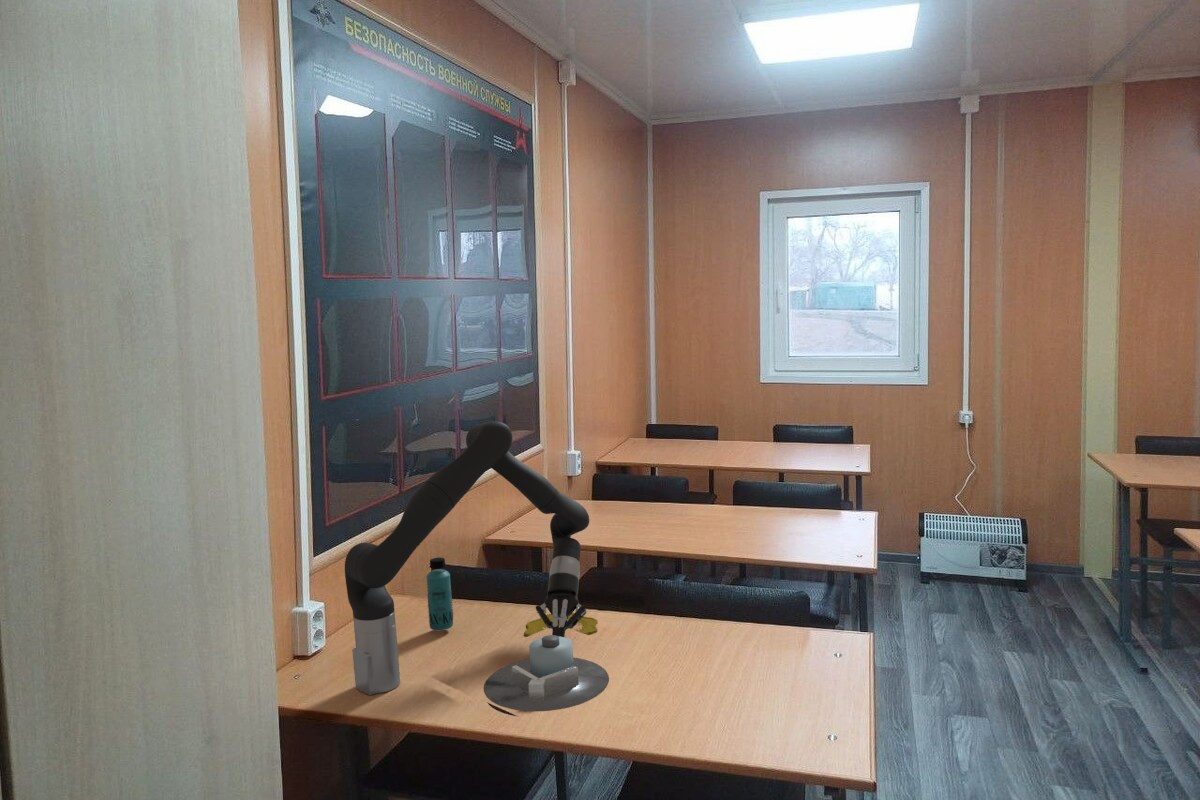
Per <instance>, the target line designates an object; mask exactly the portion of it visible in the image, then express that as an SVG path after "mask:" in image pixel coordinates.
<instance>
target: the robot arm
mask: <svg viewBox="0 0 1200 800" xmlns="http://www.w3.org/2000/svg"><path fill="white" fill-rule="evenodd" d="M512 443H513V432H512V430H511V427H509V426H508V425H507V424H506V423H504V422H501V421H494V420H493V421H487V422H482V423H479V424H476V425H474V426H472V427H471V428H470V429H469V430H468V432H467V434H466V437H465V444H466V449H465V450H464V451H463V452H462V453H461V454H460V455H458V456H457V457H456V458H455V459H454V460H452V461H450V462H448V464H446V465H444V466H443V467H442V468H440V469H439V470H438V471H436V472H435V473H433V474H432V475H431V476H430V477H429V478H428V479H426V481H424V482H423V483H422V484H421V485H420V487H419V488H417V489H416V491H415V492H414V493H413V494H412V495H411V496H410V498H409V499H408V501H407V503H406V506H405V509H404V511H403V514H402V516H401V519H400V521H399V523H398V524H397V526H396V527H395V529H394V530H393V531H392V532H391V533H390V534H389V535H388V536H387V537H386V538H385V539H384V540H383V541H382V542H381V543H379V544H378V545H376V544H375V543H370V542H361V543H357V544H355V545H354V546H353V547H352V548H350V550H349V551H348V552H347V554H346V557H345V559H344V560H345V561H344V577H345V586H346V593H347V601H348V603H349V606H350V607H351V611H352V617H353V618H352V619H353V629H354V640H355V647H353V648H352V650H351V651H352V661H353V672H354V682H355V683H354V685H355V690H356V689H357V690H358V691H360V692H362V693H364V694H366V695H368V696H372V695H374V694H382V693H386V692H389V691H392V690H394V689H396V688H397V687H399V685H400V684H401V676H400V675H401V672H400V661H399V650H398V649H399V648H398V637H397V624H396V623H397V621H396V613H395V612H396V611H395V601H394V599H393V597H392V596H391V595H390V594H389V592H388V590H387V588H386V586H387V585H388V584H389V583H390V582H391V581H392V580H393V579H394V578H395V577H396V575H397V574H398V573H399V572H400V570H401V569H402V568H403V566H404V565H405V564H406V562H407V561H408V560H409V558H410V557H411V556H412V554H413V553H414V552H415V551H416V549H417V548H418V547H419V546H420V544H422V542H424V540H425V539H426V538H427V537H428V536H429V535H430V533H431V532H432V531H433V530H434V529H435V528H436V527H437V526H438V525H439V524H440V523H441V522H442V521H443V520H444V519H445V518H446V516H448V514H449V513H450V512H451V511H453V509H454V508H455V507H456V506H457V504H458V503H459V502H460V500H462V498H463V497H464V496H465V495H466V494H467V493H468V492H469V491H470V490H471V489H472V487H473V486H474V485H475V484H476V483H477V481H478V480H479V479H480V478H481V477H482V476H483V475H485V473H486V472H487V471H488V470H489V469H492V470H494V471H495V473H497V474H498V475H500V476H502V478H504V480H506V481H507V482H509V483H510V484H511V485H512V486H513V487H514V488H515V489H516V490H518V491H519V492H520V493H521V494H522V495H523V496H524V497H525V498H526V499H527V500H528V501H529V502H530V503H531V504H532V505H533V506H534V507H535V508H537V510H538V511H539V512H540V513H542V514H545V515H550V514H551V515H552V514H553V516H552V518H551V520H550V525H549V529H550V534H551V540H552V544H553V550H552V557H551V565H550V569H549V578H548V584H547V585H548V587H547V594H546V597H545V599H544V603H542V604H541V605H536V606H535V611H536V613H537V614H538V616H539V617H540V618H541V619H542V620H543V621H544V623H545V624H546V626H547V627H548V628H547V627H546V628H547V629H552V633H551V635H556V636H559V637H565V635H566V631H567V630H568V629H570V630H572V629H574V627H575V626H577V625H578V624H579V621H580V619H581V618H582V617H583V616H584V617H585V615H586V614H587V609H586V606H584V605H581V604H580V601H579V599H578V597H579V596H578V595H579V584H580V583H579V582H580V580H581V579H580V577H581V575H580V574H581V573H580V568H581V567H580V561H581V549H582V548H581V543H580V542H579V541H578V540H577V539H576V538H573V537H572V536H573V535H575V534H578V533H580V532H582V531H584V530H586V529H587V528H588V526H589V524H590V516H589V513H588V511H587V509H586V508H585V507H584V506H583V505H581V503H579V502H578V501H576V500H574V499H572V498H571V497H569V496H568V495H566V494H563V493H561V492H560V491H559V490H558V489H557V488H556V487H555V486H554V485H553V484H552V483H551V482H550V481H549V480H548V479H547V478H546V477H545V476H543V475H542V474H541V473H540V472H539V471H537V470H535V469H533V468H532V467H530V466H528V465H527V464H526V463H524V462H522V461H521V460H519V459H518V458H517V457H515V455H514V454H512V453H511V452H510V448H511V447H512ZM547 610H548V611H549V614H551V615H552V616H553V622H552V621H550V620H549V618H548V617H547ZM572 613H574V614H573V616H572V617H571V618H570V619H569V620H568V618H569V616H570V615H571V614H572ZM560 617H561V619H560ZM559 624H560V626H559ZM565 638H566V637H565Z"/></svg>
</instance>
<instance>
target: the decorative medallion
mask: <svg viewBox="0 0 1200 800" xmlns="http://www.w3.org/2000/svg"><path fill="white" fill-rule="evenodd" d="M574 613H575V612H573V613H572V614H571V615H570V616H569V618H568V620H569V619H570V618H571V617H572V616H573V614H574ZM546 615H547V617H548V618H549V620H550V621H552V622H553V616H552V615H551V613H546ZM560 619H561V617H560ZM597 625H598V619H597V618H594V617H591V616H585V615H584V616H583V617H582V618H581V619H580V621H579V622H578V623H577V627H578V628H575V629H574V631H576V632H578V633H581V634H584V635H587V636H590V635H593V634H596V633H598V628H597ZM580 626H581V627H580ZM525 627H526V630H524V633H523V636H524V637H526V638H527V637H530V636H532V635H535V634H538V633H541V632H542V631H545V630H547V629H549V628H548V627H547V626H546V624H545V623H544V621H543V620H542V619H541V617H540V618H537V619H534V620H530V621H528V622H527V623H526V626H525ZM559 627H560V623H559Z"/></svg>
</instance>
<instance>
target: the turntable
mask: <svg viewBox="0 0 1200 800" xmlns="http://www.w3.org/2000/svg"><path fill="white" fill-rule="evenodd" d="M573 661H574V666H573V667H570V668H567V669H564V670H561V671H558V672H556V673H553V674H550V675H547V676H544V677H541V678H538V677H536V676H534V675H532V674H531V669H530V658H528V659H523V660H520V661H517V662H513V663H511V664H508V665H506V666H504V667H502V668H499V669H498V670H496V671H494V672H493V673H492V674H491V675H489V676H488V678H487V679H486V680H485V682H484V684H483V692H484V695H485V696H486V698H487V699H488V700H490V701H491V702H492V703H494V704H492V703H490V702H488V701H487V702H486V703H487V704H488V706H489V707H491V708H492V709H494V710H496V711H497V712H500V713H503V714H505V715H509V716H513V717H519V716H518V715H516V714H514V713H511V712H510V711H507V710H505V709H503V708H506V709H510V710H515V711H522V712H547V711H548V712H550V711H557V710H563V709H568V708H571V707H576V706H578V705H581V704H584V703H587V702H589V701H591V700H593V699H594V698H596V697H598V696H600V695H601V693H603V692H604V691H605V689H607V687H608V685H609V682H610V676H609V674H608V671H606V669H605V668H604V667H602V666H601V665H600V664H598V663H595V662H593V661H591V660H588V659H584V658H579V657H575V656H573ZM497 705H498V706H501V707H503V708H501V707H498V706H497Z"/></svg>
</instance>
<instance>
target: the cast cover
mask: <svg viewBox="0 0 1200 800" xmlns="http://www.w3.org/2000/svg"><path fill="white" fill-rule="evenodd" d="M528 647H529V648H528V649H529V659H530V669H531V674H532V675H534V676H536V677H538V678H541V677H544V676H547V675H550V674H553V673H556V672H558V671H561V670H564V669H567V668H570V667H573V666H574V661H573V657H574V649H573V648H574V647H573V641H572V640H571V639H570V638H568V637H559V636H556V635H552V634H549V635H548V634H547V635H545V636H543V637H540V638H538V639H535V640H532V641H531V642H530V643H529V646H528Z"/></svg>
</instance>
